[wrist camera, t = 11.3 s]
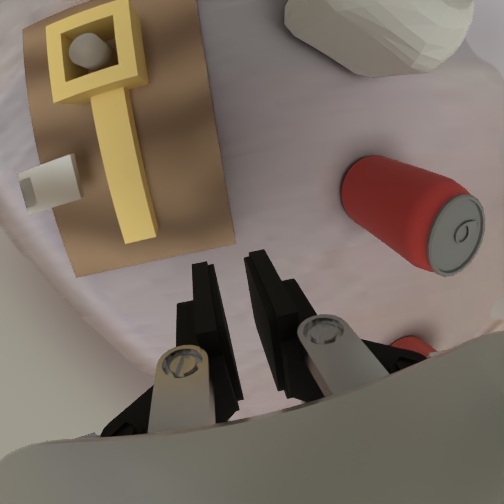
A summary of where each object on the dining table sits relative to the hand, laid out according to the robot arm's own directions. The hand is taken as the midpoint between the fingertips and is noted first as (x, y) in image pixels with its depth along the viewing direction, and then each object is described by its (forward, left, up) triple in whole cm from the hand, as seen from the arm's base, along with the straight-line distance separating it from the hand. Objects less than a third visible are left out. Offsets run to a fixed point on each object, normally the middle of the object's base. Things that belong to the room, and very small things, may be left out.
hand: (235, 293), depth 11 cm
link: (-7, -6, -14) cm, 16 cm away
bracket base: (-7, -6, -15) cm, 18 cm away
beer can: (+2, +14, -15) cm, 21 cm away
